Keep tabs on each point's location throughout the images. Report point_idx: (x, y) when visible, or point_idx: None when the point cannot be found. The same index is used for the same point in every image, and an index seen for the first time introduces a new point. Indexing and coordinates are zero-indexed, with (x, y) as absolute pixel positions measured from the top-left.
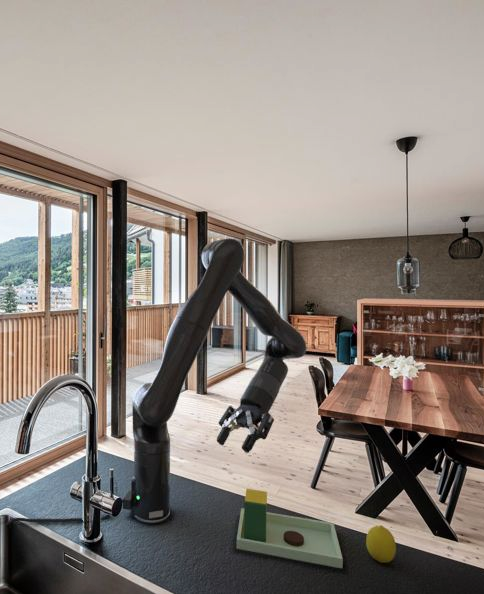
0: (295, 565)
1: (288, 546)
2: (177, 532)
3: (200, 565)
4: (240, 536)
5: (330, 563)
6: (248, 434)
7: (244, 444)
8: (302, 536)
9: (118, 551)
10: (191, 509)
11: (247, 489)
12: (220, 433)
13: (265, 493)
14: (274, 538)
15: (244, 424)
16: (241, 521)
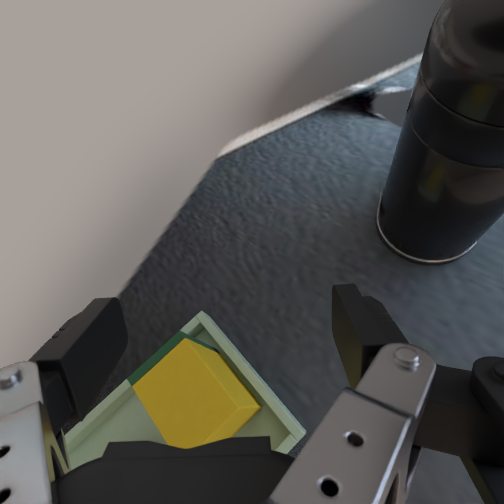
0: None
1: (142, 433)
2: (326, 242)
3: (217, 230)
4: (203, 325)
5: None
6: (56, 358)
7: (92, 307)
8: None
9: (322, 130)
10: (409, 326)
11: (232, 405)
12: (366, 311)
13: (174, 446)
14: None
15: (137, 447)
16: (248, 375)
